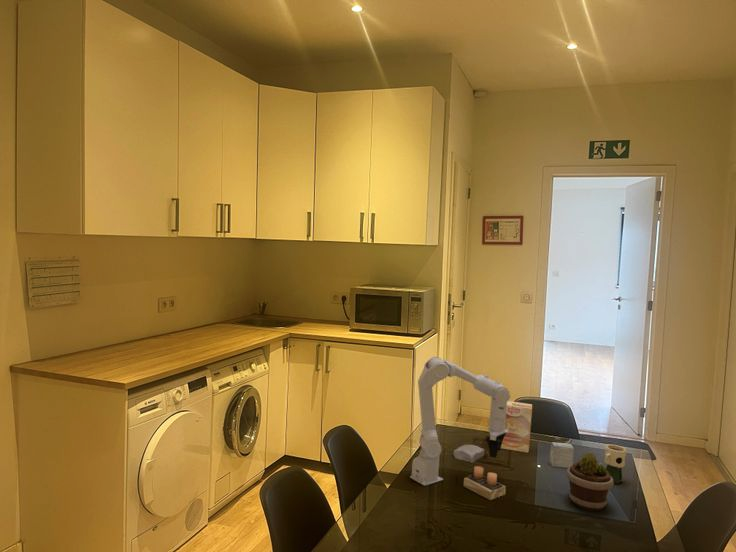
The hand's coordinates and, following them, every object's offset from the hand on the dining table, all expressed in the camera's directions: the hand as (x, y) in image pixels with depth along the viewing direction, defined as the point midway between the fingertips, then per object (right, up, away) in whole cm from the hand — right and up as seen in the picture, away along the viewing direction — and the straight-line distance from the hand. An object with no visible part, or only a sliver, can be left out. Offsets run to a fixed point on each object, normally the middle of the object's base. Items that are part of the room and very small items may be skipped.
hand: (495, 453), depth 194 cm
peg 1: (-8, -6, -7) cm, 12 cm away
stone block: (-6, -9, +22) cm, 25 cm away
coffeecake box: (+16, -10, +35) cm, 40 cm away
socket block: (-6, -10, -9) cm, 15 cm away
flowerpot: (+28, -13, -14) cm, 34 cm away
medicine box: (+31, -11, +18) cm, 38 cm away
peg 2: (-4, -7, -11) cm, 14 cm away
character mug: (+47, -13, +6) cm, 49 cm away
